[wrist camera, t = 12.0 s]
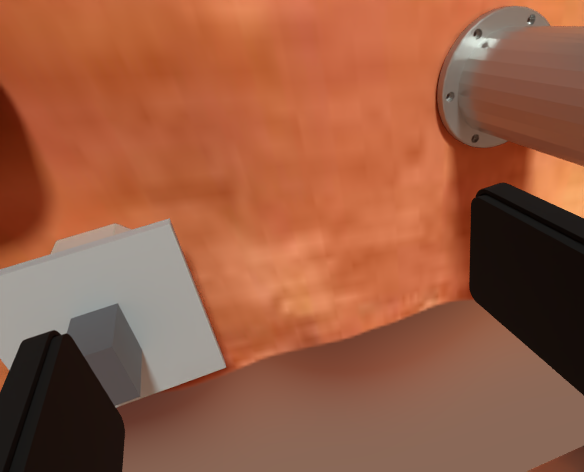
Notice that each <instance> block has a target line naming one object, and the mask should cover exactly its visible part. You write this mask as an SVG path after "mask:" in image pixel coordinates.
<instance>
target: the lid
mask: <svg viewBox="0 0 584 472" xmlns="http://www.w3.org/2000/svg"><path fill="white" fill-rule="evenodd" d="M52 330H56V331H58V332H59V333H60V334H61V335H62V334H65V333H67V334H69V335H70V336H71V337H72V338H73V340H74V341H75V343H76V345H77V346H78V348H79V349H80V351H81V353H82V354H83V356H84V357H85V359H86V361H87V362H88V364H89V365H90V367H91V369H92V370H93V372H94V374H95V375H96V377H97V378H98V380H99V382H100V383H101V385H102V386H103V388H104V390H105V391H106V393H107V394H108V396H109V398H110V399H111V401H112V402H113V404H114V406H115V407H119V406H122V405H125V404H127V403H130V402H133V401H136V400H139V399H141V398H144V397H147V396H149V395H152V394H155V393H158V392H160V391H163V390H166V389H169V388H171V387H174V386H177V385H180V384H182V383H185V382H188V381H191V380H193V379H196V378H199V377H202V376H204V375H207V374H210V373H213V372H215V371H218V370H221V369H223V368H226V364H225V359H224V357H223V354H222V352H221V349H220V346H219V344H218V341H217V339H216V336H215V334H214V331H213V328H212V326H211V323H210V321H209V318H208V316H207V313H206V310H205V308H204V305H203V303H202V300H201V298H200V295H199V292H198V290H197V287H196V285H195V282H194V280H193V277H192V274H191V272H190V269H189V267H188V264H187V262H186V259H185V256H184V254H183V251H182V249H181V246H180V244H179V241H178V238H177V236H176V233H175V231H174V228H173V226H172V223H171V220H170V218H169V219H166V220H163V221H159V222H156V223H153V224H149V225H146V226H143V227H140V228H136V229H133V230H130V231H126V232H123V233H120V234H116V235H113V236H110V237H106V238H103V239H100V240H96V241H93V242H90V243H87V244H83V245H80V246H77V247H73V248H70V249H67V250H63V251H60V252H57V253H53V254H50V255H47V256H43V257H40V258H37V259H33V260H30V261H27V262H24V263H20V264H17V265H14V266H10V267H7V268H4V269H0V359H1V360H2V361H3V363H4V364H5V365H6V366H7V368H8V369H9V370H10V368H11V366H12V363H13V361H14V358H15V356H16V354H17V351H18V349H19V346H20V344H21V343H22V341H23V340H25V339H28V338H31V337H34V336H37V335H40V334H43V333H46V332H49V331H52Z"/></svg>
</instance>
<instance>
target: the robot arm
mask: <svg viewBox="0 0 584 472" xmlns="http://www.w3.org/2000/svg"><path fill="white" fill-rule="evenodd" d="M437 102H438V109H439V114H440V117H441V119H442V122H443V124H444V126H445V127H446V129H447V131H448V132H449V133H450V134H451V135H452V136H453V137H454V138H455V139H457V140H459V141H460V142H462V143H464V144H467V145H469V146H472V147H479V148H488V147H494V146H498V145H501V144H504V143H505V142H507V141H510V142H513V143H515V144H518V145H521V146H524V147H527V148H530V149H533V150H536V151H539V152H542V153H545V154H548V155H551V156H554V157H557V158H560V159H563V160H566V161H569V162H572V163H575V164H578V165H581V166H584V26H550V24H549V23H548V21H547V20H546V18H544V17H543V16H542V15H541V14H540V13H538V12H537V11H535V10H533V9H530V8H528V7H521V6H507V7H501V8H497V9H493V10H491V11H489V12H487V13H485V14H483V15H481V16H480V17H478V18H477V19H476V20H475V21H473V22H472V23H471V24H469V26H468V27H467V28H466V29H465V30H464V31H463V32H462V33H461V34H460V35H459V37H458V38H457V39H456V41H455V42H454V44H453V45H452V47H451V49H450V51H449V53H448V55H447V57H446V59H445V61H444V64H443V67H442V70H441V73H440V77H439V83H438V92H437ZM469 288H470V292H471V295H472V297H473V298H474V300H475V301H476V302H477V303H478V304H479V305H481V306H482V307H483V308H484V309H485V310H486V311H487V312H489V313H490V314H491V315H492V316H493V317H494V318H495V319H497V320H498V321H499V322H500V323H501V324H502V325H503V326H505V327H506V328H507V329H508V330H509V331H510V332H512V333H513V334H514V335H515V336H516V337H517V338H519V339H520V340H521V341H522V342H523V343H524V344H525V345H527V346H528V347H529V348H530V349H531V350H532V351H533V352H534V353H536V354H537V355H538V356H539V357H540V358H541V359H543V360H544V361H545V362H546V363H547V364H548V365H549V366H551V367H552V368H553V369H554V370H555V371H556V372H557V373H559V374H560V375H561V376H562V377H563V378H564V379H566V380H567V381H568V382H569V383H570V384H571V385H572V386H574V387H575V388H576V389H577V390H578V391H579V392H581V393H582V394H583V395H584V218H581V217H579V216H577V215H575V214H573V213H571V212H568V211H566V210H564V209H562V208H560V207H557V206H555V205H553V204H551V203H549V202H546V201H544V200H542V199H540V198H538V197H536V196H533V195H531V194H529V193H527V192H525V191H522V190H520V189H518V188H516V187H514V186H512V185H509V184H507V183H499V184H496V185H493V186H490V187H487V188H484V189H481V190H479V191H478V192H477V194H476V198H474V199H473V200H472V203H471V237H470V282H469ZM124 438H125V429H124V423H123V420H122V417H121V415H120V414H119V412H118V410H117V409H116V407H115V406H114V404H113V402H112V401H111V399H110V398H109V396H108V394H107V393H106V391H105V390H104V388H103V386H102V385H101V383H100V382H99V380H98V378H97V377H96V375H95V374H94V372H93V370H92V369H91V367H90V365H89V364H88V362H87V361H86V359H85V357H84V356H83V354H82V353H81V351H80V349H79V348H78V346H77V345H76V343H75V341H74V340H73V338H72V337H71V336H70V335H69V334H67V333H65V334H62V335H61V334H60V333H59V332H58V331H56V330H52V331H49V332H46V333H43V334H40V335H37V336H34V337H31V338H28V339H25V340H23V341H22V343H21V344H20V346H19V349H18V351H17V354H16V356H15V358H14V361H13V363H12V366H11V368H10V370H9V373H8V375H7V378H6V380H5V382H4V385H3V387H2V390H1V392H0V472H122V465H123V464H122V463H123V451H124ZM527 472H584V446H582V447H580V448H578V449H575V450H573V451H571V452H569V453H567V454H564V455H562V456H560V457H558V458H555V459H553V460H551V461H549V462H547V463H544V464H542V465H540V466H538V467H536V468H534V469H531V470H529V471H527Z"/></svg>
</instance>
